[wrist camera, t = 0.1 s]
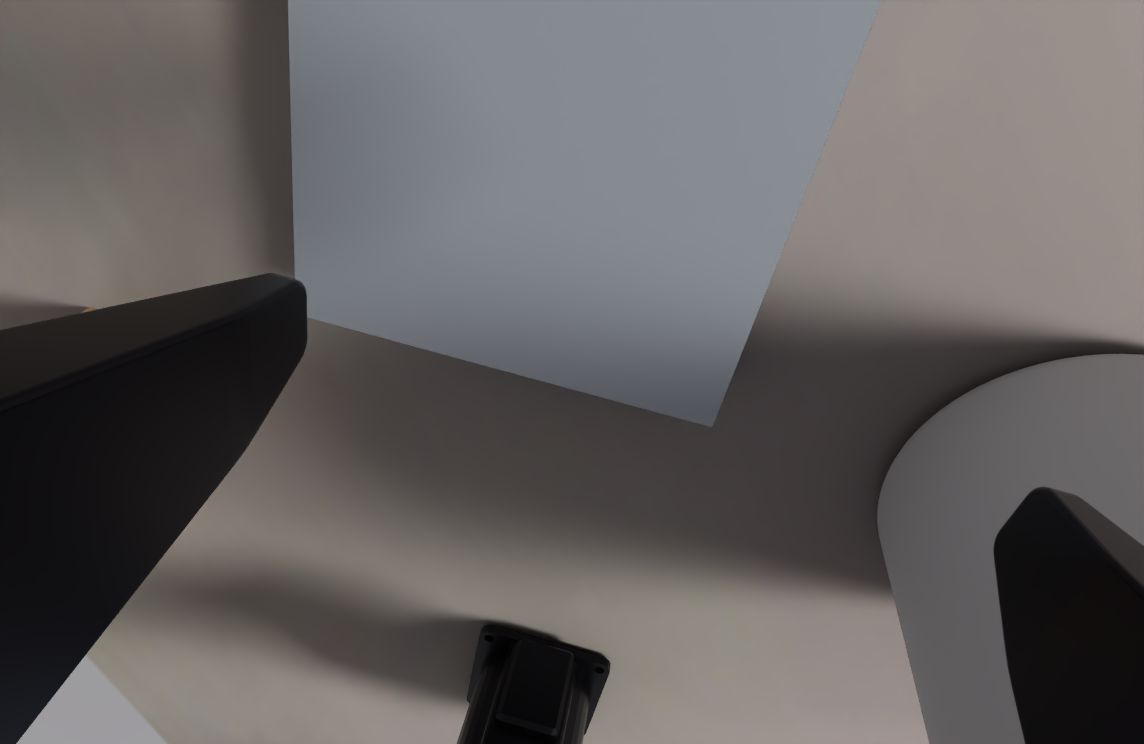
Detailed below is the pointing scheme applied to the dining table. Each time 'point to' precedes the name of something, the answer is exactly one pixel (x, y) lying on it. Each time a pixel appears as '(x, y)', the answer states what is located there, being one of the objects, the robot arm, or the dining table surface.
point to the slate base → (561, 177)
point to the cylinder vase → (998, 519)
